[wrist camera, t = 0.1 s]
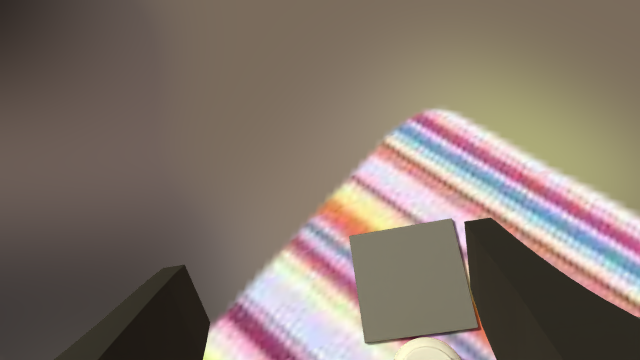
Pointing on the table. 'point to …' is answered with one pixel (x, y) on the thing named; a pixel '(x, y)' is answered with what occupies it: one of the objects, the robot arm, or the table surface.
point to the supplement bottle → (426, 350)
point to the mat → (411, 282)
